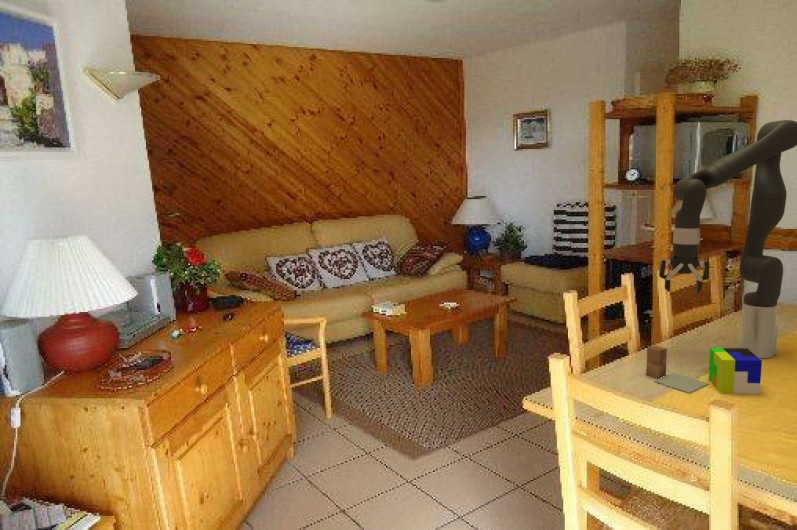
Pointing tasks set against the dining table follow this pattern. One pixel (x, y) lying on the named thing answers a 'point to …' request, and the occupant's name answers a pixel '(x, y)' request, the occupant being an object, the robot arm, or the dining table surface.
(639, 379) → the dining table surface
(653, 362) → the walnut block
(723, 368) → the puzzle toy
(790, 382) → the dining table surface
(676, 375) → the felt mat
